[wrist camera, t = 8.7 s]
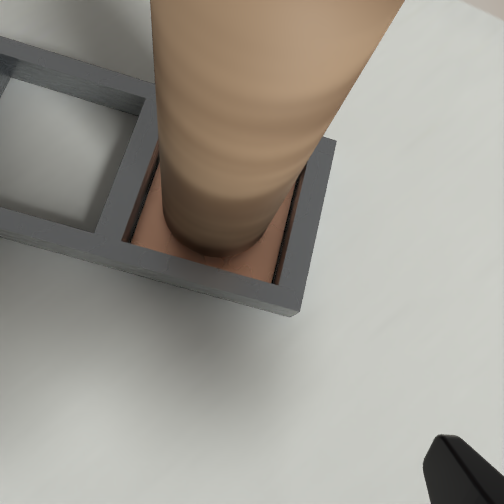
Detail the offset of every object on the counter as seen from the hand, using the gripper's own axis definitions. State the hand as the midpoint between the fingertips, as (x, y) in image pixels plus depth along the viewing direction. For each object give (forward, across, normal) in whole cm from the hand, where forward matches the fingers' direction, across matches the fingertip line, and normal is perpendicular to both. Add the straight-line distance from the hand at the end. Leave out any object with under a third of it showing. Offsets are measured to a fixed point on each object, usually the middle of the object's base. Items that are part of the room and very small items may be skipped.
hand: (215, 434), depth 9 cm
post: (+11, 0, 0) cm, 11 cm away
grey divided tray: (+12, +4, 0) cm, 12 cm away
